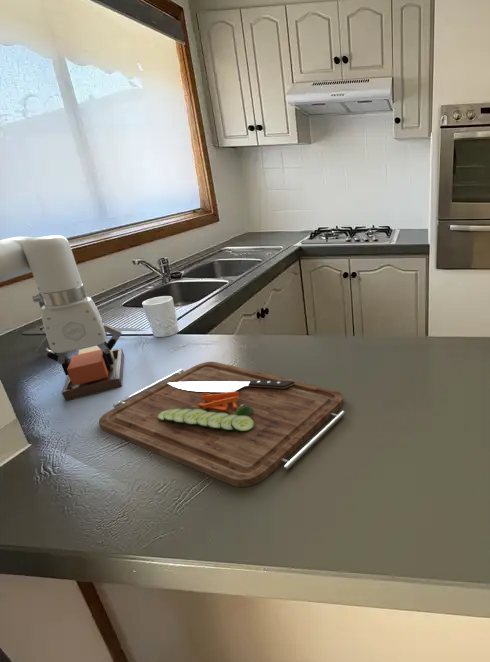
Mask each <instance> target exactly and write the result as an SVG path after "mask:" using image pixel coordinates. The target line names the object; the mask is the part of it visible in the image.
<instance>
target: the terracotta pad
mask: <svg viewBox="0 0 490 662" xmlns="http://www.w3.org/2000/svg"><path fill="white" fill-rule="evenodd" d="M102 354H103V352H102V350H97V351H92V352H88V353H83V354H79V355H78V354H75V355H71V357H70V359H71V361H70V364H69V365H68V368H67V371H68V374H69V376H70V379H71V381H72V384H73V386H75V385H79V384H83V383H87V382H91V381H95V380H99V379H103V378H107V377H108V372H109V370H107V367H106V364H105V361H104V358H103V356H102Z"/></svg>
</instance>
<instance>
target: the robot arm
mask: <svg viewBox="0 0 490 662" xmlns="http://www.w3.org/2000/svg"><path fill="white" fill-rule="evenodd" d="M30 273H32V276H33V279H34V280H35V284H36V286H37V289H38V292H39V293H38V294H36V295H32V296H31V297H32V301H33V302H34V303H39V302H41V303H43V305H44V306H43V307H41V308H40V314H41V315H40V316H41V322H42V326H43V329H44V333H45V336H46V337H45V338H44V339H43V340H42V342H41V343H40V344H39V346H38V347H37V348H36V350H35V351H36V353H37V354H40V355H42V356H44V357H47V358H48V359H50V360H53V361H55V362H57V363H58V364H61V368H62V370H63V372H64V374H65V376H68V375H69V374H68V371H67V368H68V365H69V364H70V361H71V358H70V357H68V353H69V352H73V351H79V350H81V349H85V348H90V347H94V346H98V347H99V348H100V349H101V350H102V352H103V354H102V356H103V358H104V361H105V364H106V367H107V370H111V366H112V365H113V364H114V361H113V358H112V355H111V352H110V350H111V349H112V350H113V348H114V346H115V345H116V343H117V342H118V340H119V339H120V337H121V336H122V330H120V329H118V328H115V327H113V326H111V325H109V324H106V323H104V321H103V319H102V316H101V314H100V311H99V309H98V307H97V305H96V304H95V302H94V300H93V299H92V297H91V296H88V294H87V292H86V289H85V286H84V284H83V281H82V277H81V274H80V272H79V268H78V265H77V263H76V260H75V256H74V253H73V249H72V247H71V245H70V242H69V240H68V239H67V238H66V237H65V236H63V235H59V234H58V235H56V234H55V235H54V234H53V235H44V236H38V237H32V236H11V237H6V238H1V239H0V283H3V282H6V281H9V280H12V279H14V278H17V277H21V276H25V275H27V274H30ZM108 334H109V335H112V336H111V337H110V339H109V340H108V341H107V335H108ZM48 347H49V348H48ZM69 378H70V376H69ZM70 380H71V379H70Z"/></svg>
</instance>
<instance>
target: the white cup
mask: <svg viewBox="0 0 490 662" xmlns="http://www.w3.org/2000/svg"><path fill="white" fill-rule="evenodd" d="M141 305H142V308H143V312H144V314H145V316H146V319H147V322H148V324H149V327H150V329H151V333H152V335H153V336H154V337H155V338H166V337H170V336H172V335H175V334H177V333H178V332H179V330H180V329H179V324H178V317H177V312H176V307H175V303H174V297H173V296H171V295H162V296H160V295H159V296H156V297H151V298H148V299H146V300H144V301H142V303H141Z"/></svg>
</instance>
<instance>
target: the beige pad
mask: <svg viewBox="0 0 490 662" xmlns="http://www.w3.org/2000/svg"><path fill="white" fill-rule="evenodd" d="M97 350H101V349H100V348H99V347H98V346H97V345H96V346H92V347H88V348H83V349H79V350H78V353H77V355H79V354H83V353H88V352H92V351H97ZM112 350H113V348H112V349H111V350H110V352H111V355H112V358H113V361H114V355H113V352H112ZM112 369H113V365H112V366H111V370H112Z"/></svg>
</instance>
